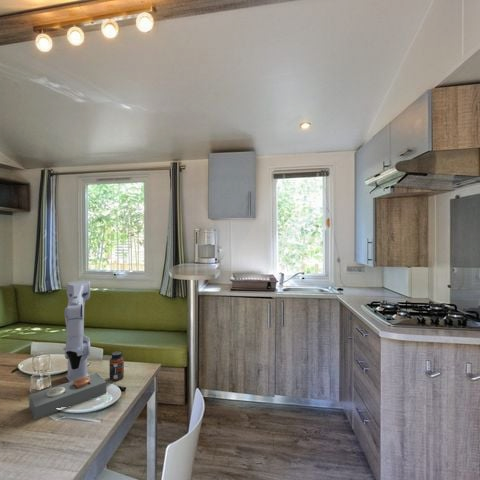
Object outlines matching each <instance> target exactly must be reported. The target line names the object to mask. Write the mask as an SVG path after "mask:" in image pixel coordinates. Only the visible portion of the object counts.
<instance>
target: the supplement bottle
mask: <svg viewBox="0 0 480 480" xmlns="http://www.w3.org/2000/svg"><path fill="white" fill-rule="evenodd" d="M124 365H125V361H124V357H123V356H122V352H121V351H115V352H112V353H111V358H109V380H110V381H113V382H116V381H120V380H122V379H123V378H124V377H125V376H124V375H125V366H124Z"/></svg>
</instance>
